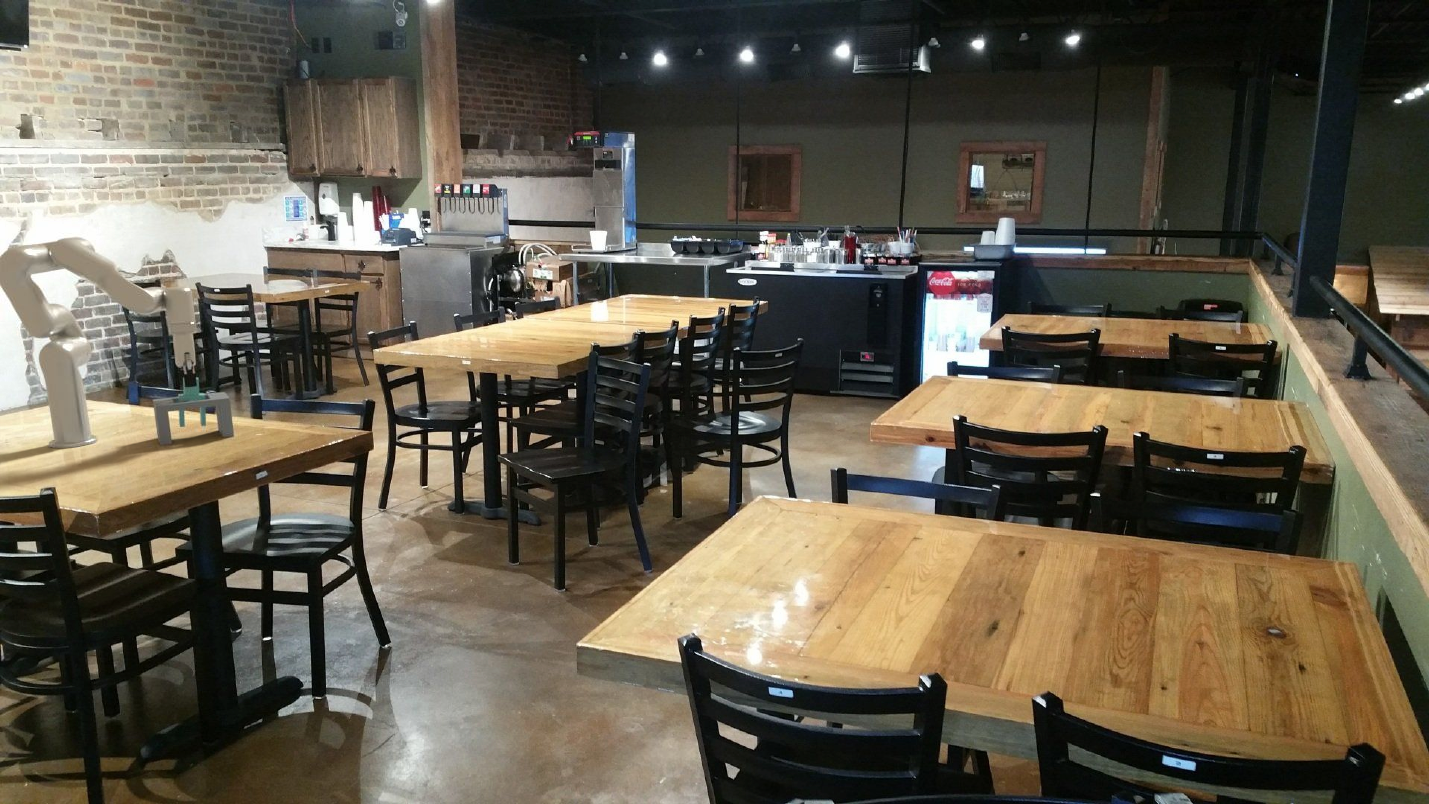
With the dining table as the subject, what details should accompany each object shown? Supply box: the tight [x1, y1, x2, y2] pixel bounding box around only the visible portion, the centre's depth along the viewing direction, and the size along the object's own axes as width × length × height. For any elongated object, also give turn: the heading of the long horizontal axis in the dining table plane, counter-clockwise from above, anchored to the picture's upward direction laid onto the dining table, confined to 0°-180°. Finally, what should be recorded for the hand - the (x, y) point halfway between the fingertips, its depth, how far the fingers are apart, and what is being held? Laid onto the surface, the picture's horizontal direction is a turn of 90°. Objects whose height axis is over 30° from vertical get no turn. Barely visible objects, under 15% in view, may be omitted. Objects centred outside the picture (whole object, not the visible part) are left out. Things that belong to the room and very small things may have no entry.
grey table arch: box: [152, 391, 235, 446], centre depth 314 cm, size 12×20×12 cm, turn 122°
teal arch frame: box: [177, 377, 207, 428], centre depth 313 cm, size 4×7×14 cm, turn 121°
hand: (189, 384), depth 312 cm, fingers open, 9 cm apart
